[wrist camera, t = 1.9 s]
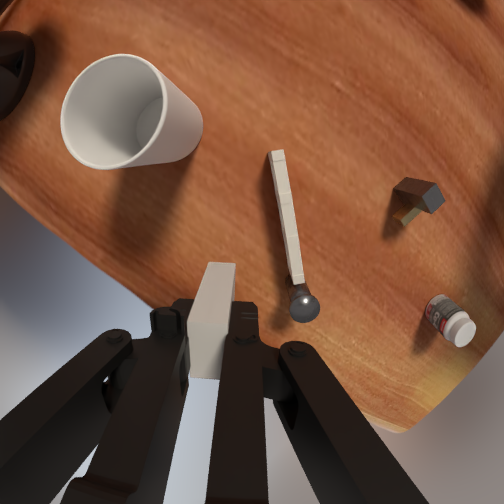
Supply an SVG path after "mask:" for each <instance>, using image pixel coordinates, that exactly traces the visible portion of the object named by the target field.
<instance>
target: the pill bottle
mask: <svg viewBox="0 0 504 504" xmlns="http://www.w3.org/2000/svg"><path fill="white" fill-rule="evenodd" d="M426 318H427V319H428V320H429V321H430V322H431V324H432V325H433V326H434V327H435V328H436V329H437V330H438V331H439V332H440V333H441V334H442V335H443V336H444V338H445V339H447V340H448V341H452V343H454V344H455V345H456V346H457V347H463V346H465V345H466V344H468V343H469V342H470V341H471V340H472V338H473V337H474V335H475V332H476V325H475V323H474V322H473V321H472V320H471V319H469V316H468V314H467V313H466V312H465V311H464V310H463V309H462V308H460V307H459V306H458V305H457V304H456V303H454V302H453V301H452V300H451V299H450V298H449V297H447V296H446V295H443V294H441V295H437V296H435V297H434V298H432V299H431V300H430V302H429V303H428V305H427V307H426Z"/></svg>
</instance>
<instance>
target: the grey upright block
mask: <svg viewBox="0 0 504 504" xmlns="http://www.w3.org/2000/svg"><path fill="white" fill-rule="evenodd" d="M393 189H394V190H395V192H396V193H397V195H398V196H399V198H400V200H401V201H402V203H404V204H405V205H403V206H402V207H401V208H400V209H399V210H398V211H397V212H396V213H394V214H393V215H392V217H393V219H394V220H395V222H396V223H398V224H400V225H402V226H404V227H405V226H406V225H407V224H408V223H409V222H410V221H411V220H413V219H414V218H415V217H416V216H417V215H418V214H419V213H420V212H421V210H422V211H425V212H427V213H430V214H432V213H433V212H434V211H436V210H437V209H438V208H439V207H440V206H441V205H442V204H443V203H444V202H445V199H444V197H443V195H442V193H441V191H440V189H439V188H438V186H437V184H436V183H433V182H428V181H424V180H419V179H414V178H409V177H406V178H404V179H403V180H402V181H401V182H400V183H399V184H398V185H396V186H395V187H394V188H393Z"/></svg>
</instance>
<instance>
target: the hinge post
mask: <svg viewBox="0 0 504 504" xmlns="http://www.w3.org/2000/svg"><path fill="white" fill-rule="evenodd" d="M304 280H305V279H304ZM285 283H286V287H287V290H288V294H289V297H290V301H291V303H290V306H289V311H290V315H291V317H292V318H293V319H294V320H295V321H297V322H300V323H307V322H310V321H312V320H314V319H315V318H316V317H317V316H318V314H319V312H320V304H319V302H318V300H317V299H316V298H315V297H314V296H312V295H311V293H310V291H309V288H308V286H307V284H306V281H305V283H301V284H296V285H294V284H293V281H292V278H291V275H290V274H289V275H288V276H287V278H286V281H285Z"/></svg>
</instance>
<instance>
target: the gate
mask: <svg viewBox="0 0 504 504" xmlns="http://www.w3.org/2000/svg"><path fill="white" fill-rule="evenodd" d="M268 156H269V161H270V165H271V170H272V176H273V181H274V187H275V194H276V198H277V203H278V209H279V215H280V220H281V228H282V234H283V238H284V244H285V250H286V256H287V264H288V269H289V272H290V275H291V278H292V281H293V284H294V285H296V284H301V283H305V280H304V274H303V266H302V259H301V253H300V246H299V238H298V233H297V226H296V220H295V214H294V208H293V201H292V195H291V190H290V184H289V178H288V173H287V167H286V162H285V155H284V150H277V151H271V152H268Z"/></svg>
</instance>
